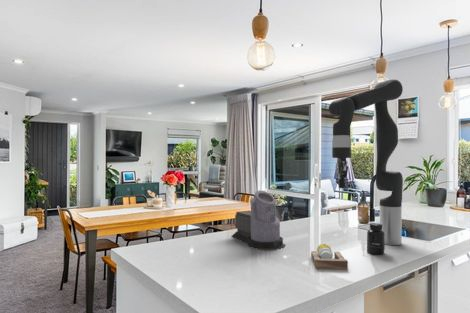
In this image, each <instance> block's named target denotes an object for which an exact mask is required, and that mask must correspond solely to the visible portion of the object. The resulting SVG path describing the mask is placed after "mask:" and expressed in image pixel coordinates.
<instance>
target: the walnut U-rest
mask: <svg viewBox="0 0 470 313" xmlns="http://www.w3.org/2000/svg"><path fill="white" fill-rule="evenodd" d="M310 252H311V255H310V257H311V260H312V262H313V264H314V267H315V269H318V270H321V269H323V270H344V271H345V270H347V271H348V269H349V268H348V267H349V261H348V260H347V259H346V258H345V257H344V256H343V255H342V253H341V251H334V253H333V258H332V259H320V257H319V255H318V252H317V251H316V250H311V251H310Z"/></svg>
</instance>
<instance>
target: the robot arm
mask: <svg viewBox="0 0 470 313" xmlns="http://www.w3.org/2000/svg"><path fill="white" fill-rule="evenodd" d="M403 89H404V88H403V85H402V83H401V81H400V80H398V79H389V80H385V81H380V82H377V83H376V84H375V85H374V87H373V88H372V89H368V90H363V91H360V92H357V93H354V94H352V95H349V96H346V97H342V98H338V99H334V100H333V101H331V102H330V103H329V106H328V112H329V114H330V115H331V116H333V117H339V119H338V120H337V121H335V122H333V123H332V140H331V142H332V143H331V148H332V149H331V156H332V158H334V159H336V162H335V166H334V167H335V172H336V177H337V179H338V188H339V189H345V188H346V186H345V185H346V182H345V181H346V178H347V175H348V171H349V166H348V162H347V159H350V158H352V140H351V139H352V138H351V126H352V122H353V118H354V114H355V112H356V111H359V110H362V109H365V108H367V107H369V106H372V105H374V108H375V110H374V111H375V121H376V122H375V124H376V125H375V126H376V128H375V133H376V134H375V140H376V141H375V142H376V168H375V186H376V188H377V190H379V191H384V192H391V195H389V196H388V197H387V196H386V197H383V198H380V199H379V224H382V231H383V232H384V233H385V245H390V246H398V245H399V246H400V245H402V244H403V243H402V236H403V235H402V234H403V233H402V228H403V227H402V221H403V220H402V215H403V213H402V207H403V206H402V202H403V187H404V177H403V175H402V173H401V172H400V171H389V170H387V164H388V161H389V159H390V158H391V156H392V154H393V153H394V151H395V150H396V148H397V146H398V143H399V130H398V126H397V124H396V122H395V120H393V118H392V117H391V115H390V113H389V108H388V102H389V101H393V100H397V99H399V98H400V97H401V96H402V94H403Z"/></svg>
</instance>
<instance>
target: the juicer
mask: <svg viewBox="0 0 470 313" xmlns="http://www.w3.org/2000/svg"><path fill="white" fill-rule="evenodd" d="M276 202H277V201H276V199H275V197H274V196H273V195H272V194H271V193H270V192H267V191H265V190H260V189H259V190H257V191H255V192H254V197H252V198H251V199H250V210H241V211H240V210H239V211H236V213H235V216H234V219H235V220H234V222H235V223H234V224H235V225H234V226H235V227H234V228H235V229H236V230H237V231H236V232H234V233H233V234H232V235H231V238H233V239H235V238H236V239H235V240H238V241H240V240H241V242H243V241H244V242H243V243H245V242H246V243H245V244H247V246H248V247H250V248H252V247H253V249H256V248H257V250H260V251H276V250H277V249H279V250H282V249H285V246H286V243H284V238H283V237H282V236H281V235H280V234H281V229H280V228H281V221H280V218H278V216H277V214H276V205H277V204H276ZM286 247H287V246H286ZM281 248H282V249H281Z"/></svg>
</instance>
